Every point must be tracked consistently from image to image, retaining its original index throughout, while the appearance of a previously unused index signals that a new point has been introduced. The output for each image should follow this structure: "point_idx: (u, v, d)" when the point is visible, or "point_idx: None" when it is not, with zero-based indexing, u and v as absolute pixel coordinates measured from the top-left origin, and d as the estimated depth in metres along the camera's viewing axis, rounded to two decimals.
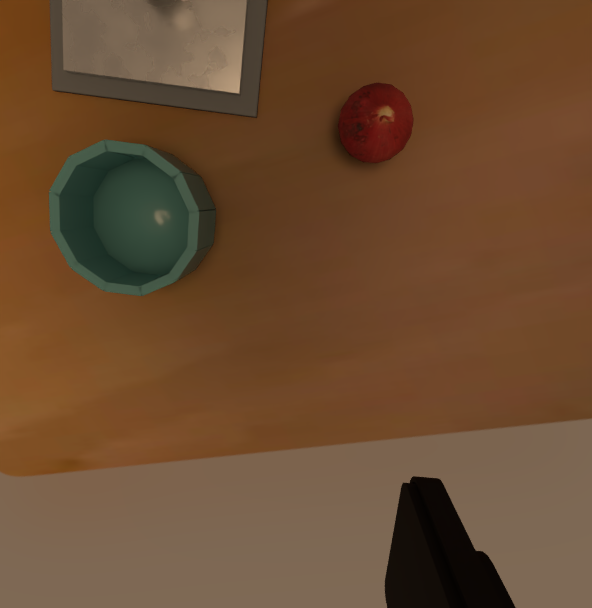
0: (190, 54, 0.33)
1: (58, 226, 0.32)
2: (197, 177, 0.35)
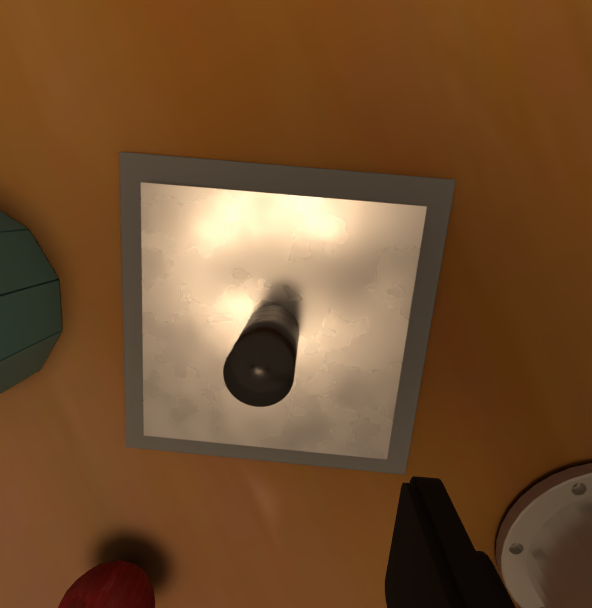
0: (183, 375, 0.23)
1: None
2: (19, 381, 0.23)
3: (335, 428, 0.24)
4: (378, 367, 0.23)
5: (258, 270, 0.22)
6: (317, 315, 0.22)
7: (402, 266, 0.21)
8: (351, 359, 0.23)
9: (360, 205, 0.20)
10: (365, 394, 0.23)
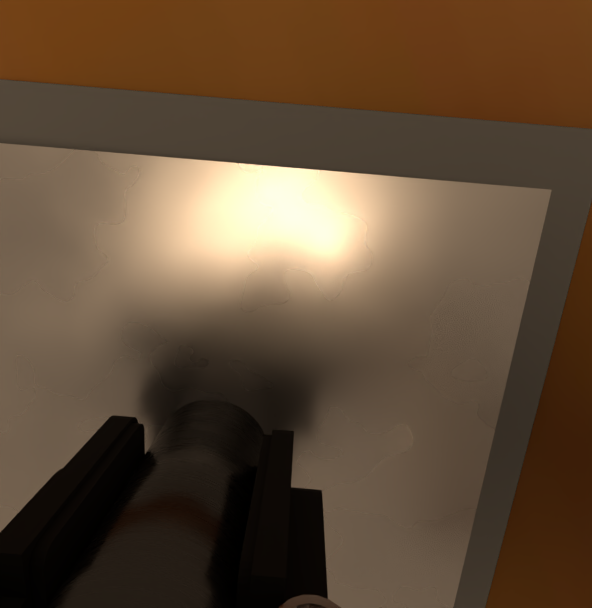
0: None
1: None
2: None
3: None
4: (428, 516, 0.11)
5: (177, 329, 0.10)
6: (305, 419, 0.11)
7: (488, 320, 0.10)
8: (374, 502, 0.11)
9: (400, 187, 0.09)
10: (401, 563, 0.12)
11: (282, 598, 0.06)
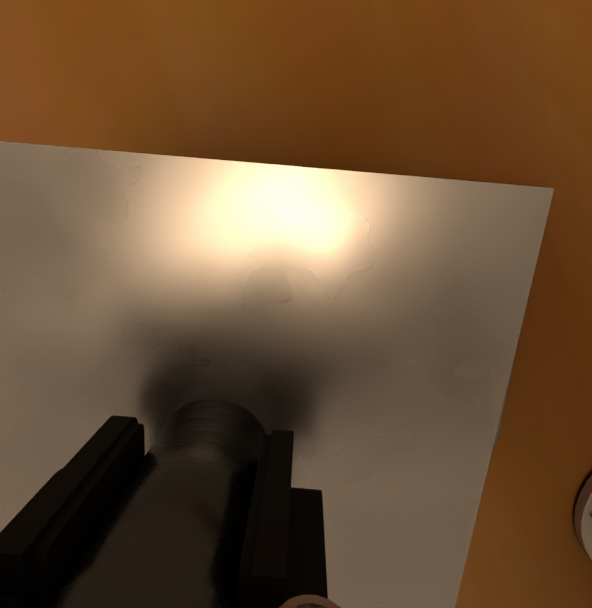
0: None
1: None
2: None
3: None
4: (429, 515, 0.11)
5: (179, 328, 0.10)
6: (307, 419, 0.11)
7: (490, 319, 0.10)
8: (375, 502, 0.11)
9: (402, 185, 0.09)
10: (403, 563, 0.12)
11: (282, 598, 0.06)
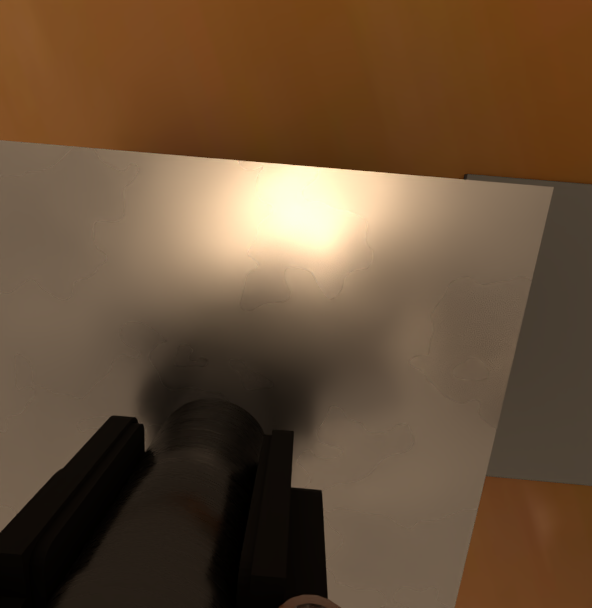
0: None
1: None
2: None
3: None
4: (428, 516, 0.11)
5: (176, 327, 0.10)
6: (305, 419, 0.10)
7: (489, 319, 0.10)
8: (374, 502, 0.11)
9: (401, 185, 0.09)
10: (402, 563, 0.12)
11: (282, 598, 0.06)
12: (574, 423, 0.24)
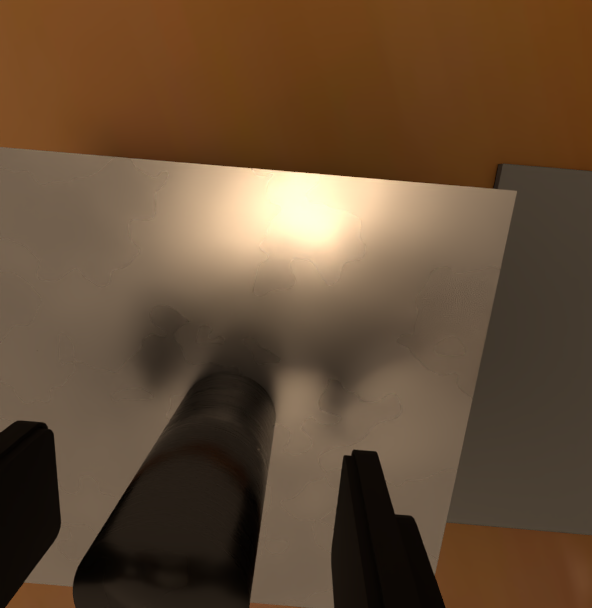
0: (75, 488, 0.13)
1: None
2: None
3: None
4: (415, 475, 0.13)
5: (198, 310, 0.12)
6: (308, 389, 0.12)
7: (465, 303, 0.11)
8: None
9: (389, 189, 0.11)
10: None
11: None
12: None
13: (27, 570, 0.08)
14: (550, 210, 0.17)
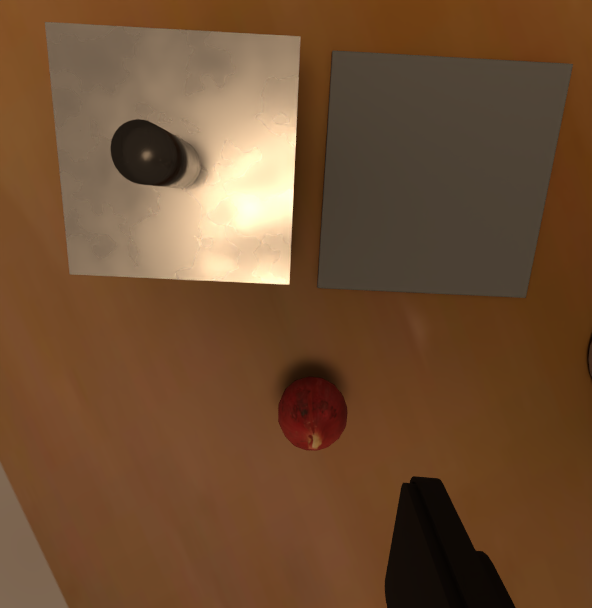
0: (100, 211, 0.26)
1: None
2: None
3: (241, 256, 0.27)
4: (273, 194, 0.26)
5: (158, 104, 0.24)
6: (215, 146, 0.25)
7: (285, 95, 0.24)
8: (249, 188, 0.25)
9: (242, 37, 0.23)
10: (264, 221, 0.26)
11: None
12: (430, 243, 0.33)
13: None
14: (363, 77, 0.30)
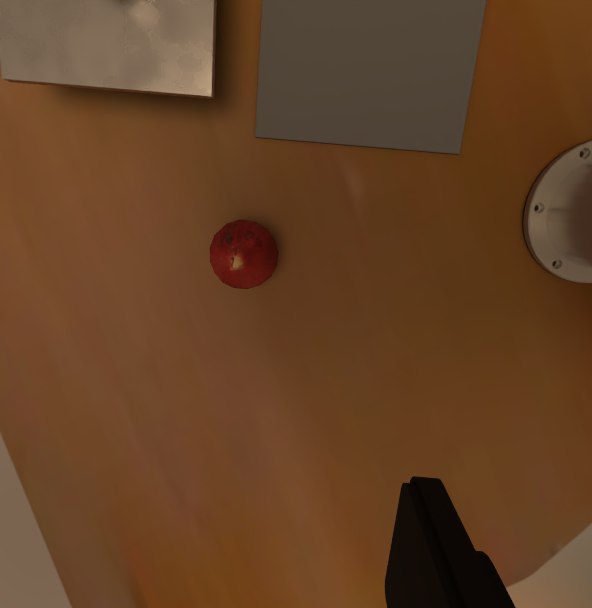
0: (30, 12, 0.27)
1: None
2: None
3: (164, 64, 0.28)
4: None
5: None
6: None
7: None
8: None
9: None
10: (186, 27, 0.27)
11: None
12: (364, 92, 0.33)
13: None
14: None
